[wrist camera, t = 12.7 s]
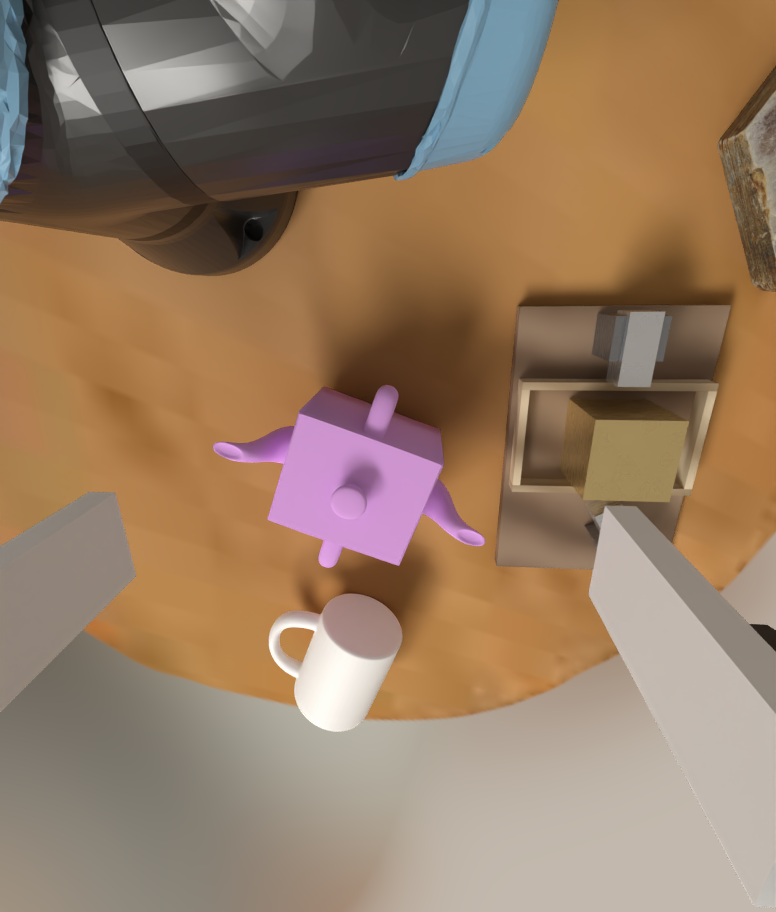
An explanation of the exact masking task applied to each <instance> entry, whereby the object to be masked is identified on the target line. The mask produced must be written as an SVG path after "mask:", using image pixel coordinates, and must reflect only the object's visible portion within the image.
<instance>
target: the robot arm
mask: <svg viewBox="0 0 776 912" xmlns="http://www.w3.org/2000/svg"><path fill="white" fill-rule="evenodd" d="M558 1H559V0H0V221H7V222H13V223H20V224H27V225H33V226H40V227H46V228H53V229H60V230H66V231H73V232H79V233H86V234H93V235H99V236H106V237H113V238H118V239H119V240H121V241H122V242H123V243H125V244H126V245H128V246H129V247H130V248H132V249H133V250H134V251H135V252H137V253H138V254H140V255H141V256H143V257H144V258H146V259H147V260H149V261H151V262H153V263H155V264H157V265H159V266H161V267H164V268H166V269H169V270H172V271H175V272H179V273H184V274H190V275H203V276H218V275H226V274H230V273H234V272H237V271H240V270H242V269H245V268H247V267H249V266H251V265H252V264H254V263H255V262H257V261H258V260H260V259H261V258H262V257H263V256H264V255H265V254H267V253H268V252H269V251H270V249H271V248H272V247H273V246H274V245H275V244H276V242H277V241H278V240H279V238H280V237H281V235H282V233H283V232H284V230H285V228H286V226H287V224H288V221H289V219H290V216H291V214H292V211H293V207H294V203H295V199H296V194H297V190H304V189H310V188H317V187H323V186H330V185H336V184H342V183H349V182H355V181H362V180H368V179H375V178H381V177H388V176H394V178H395V180H406V179H409V178H411V177H412V176H414V175H415V174H416V173H417V172H418V171H423V170H428V169H433V168H437V167H442V166H447V165H452V164H457V163H462V162H466V161H470V160H474V159H476V158H479V157H481V156H483V155H485V154H486V153H488V152H489V151H491V150H492V149H493V148H494V147H495V146H496V144H497V143H498V142H499V141H500V140H501V139H502V138H503V137H504V135H505V134H506V133H507V132H508V131H509V130H510V129H511V127H512V126H513V124H514V122H515V121H516V120H517V118H518V116H519V114H520V112H521V110H522V108H523V106H524V104H525V102H526V100H527V98H528V95H529V93H530V90H531V88H532V85H533V83H534V80H535V77H536V75H537V72H538V69H539V66H540V63H541V60H542V57H543V54H544V51H545V48H546V44H547V41H548V38H549V34H550V31H551V27H552V24H553V20H554V16H555V12H556V8H557V4H558ZM135 577H136V573H135V569H134V565H133V561H132V557H131V553H130V549H129V545H128V541H127V537H126V533H125V529H124V525H123V521H122V517H121V513H120V509H119V505H118V501H117V497H116V493H111V492H88V493H87V494H85V495H83V496H82V497H80V498H78V499H77V500H75V501H74V502H72V503H70V504H69V505H67V506H65V507H64V508H62V509H60V510H59V511H57V512H56V513H54V514H52V515H51V516H49V517H47V518H46V519H44V520H42V521H41V522H39V523H38V524H36V525H34V526H33V527H31V528H29V529H28V530H26V531H24V532H23V533H21V534H20V535H18V536H16V537H15V538H13V539H11V540H10V541H8V542H6V543H5V544H3V545H2V546H0V712H1V711H2V710H3V709H4V708H5V707H6V706H7V705H8V704H9V703H10V702H11V701H12V700H13V699H14V698H15V697H16V696H17V695H18V694H19V693H20V692H21V691H22V690H23V689H24V688H25V687H26V686H27V685H28V684H29V683H30V682H31V681H32V680H33V679H34V678H35V677H36V676H37V675H38V674H39V673H40V672H41V671H42V670H43V669H44V668H45V667H46V666H47V665H48V664H49V663H50V662H51V661H52V660H53V659H54V658H55V657H56V656H57V655H58V654H59V653H60V652H61V651H62V650H63V649H64V648H65V647H66V646H67V645H68V644H69V643H70V642H71V641H72V640H73V639H74V638H75V637H76V636H77V635H78V634H79V633H80V632H81V631H82V630H83V629H84V628H85V627H86V626H87V625H88V624H89V623H90V622H91V621H92V620H93V619H94V618H95V617H96V616H97V615H98V614H99V613H100V612H101V611H102V610H103V609H104V608H105V607H106V606H107V605H108V604H109V603H110V602H111V601H112V600H113V599H114V598H115V597H116V596H117V595H118V594H119V593H120V592H121V591H122V590H123V589H124V588H125V587H126V586H127V585H128V584H129V583H130V582H131V581H132V580H133V579H134V578H135ZM589 596H590V598H591V600H592V602H593V604H594V606H595V608H596V610H597V611H598V613H599V615H600V617H601V619H602V621H603V623H604V625H605V627H606V628H607V630H608V632H609V634H610V636H611V638H612V640H613V642H614V644H615V645H616V647H617V649H618V651H619V653H620V655H621V657H622V659H623V661H624V662H625V664H626V666H627V668H628V670H629V672H630V674H631V675H632V678H633V679H634V681H635V683H636V685H637V687H638V689H639V691H640V692H641V694H642V696H643V698H644V700H645V702H646V704H647V706H648V708H649V709H650V711H651V713H652V715H653V717H654V719H655V721H656V723H657V725H658V726H659V728H660V730H661V732H662V734H663V736H664V738H665V740H666V742H667V744H668V745H669V747H670V749H671V751H672V753H673V754H674V756H675V759H676V761H677V762H678V764H679V766H680V768H681V770H682V772H683V774H684V776H685V777H686V779H687V781H688V783H689V785H690V787H691V789H692V791H693V792H694V794H695V796H696V798H697V800H698V802H699V804H700V806H701V808H702V810H703V812H704V813H705V815H706V817H707V819H708V821H709V823H710V825H711V827H712V828H713V830H714V832H715V834H716V836H717V838H718V840H719V842H720V844H721V846H722V847H723V849H724V851H725V853H726V855H727V857H728V859H729V861H730V862H731V864H732V866H733V868H734V870H735V871H736V874H737V876H738V878H739V879H740V881H741V883H742V885H743V887H744V889H745V891H746V893H747V895H748V897H749V898H750V900H751V902H752V904H753V906H759V907H770V908H776V630H774V629H773V628H771V627H770V626H768V625H758V624H749V623H748V622H747V621H746V620H745V619H744V618H743V617H742V616H741V615H740V614H739V613H738V612H737V611H736V610H735V609H734V608H733V607H732V606H731V605H730V604H729V603H728V602H727V600H726V599H724V597H723V596H722V595H721V594H720V593H719V592H718V591H717V590H716V589H715V588H714V587H713V586H712V585H711V584H710V583H709V582H708V581H707V580H706V579H705V578H704V577H703V575H702V574H701V573H700V572H699V571H698V570H697V569H696V568H695V567H694V566H693V565H692V564H691V563H690V562H689V561H688V560H687V559H686V558H685V557H684V556H683V555H682V554H681V553H680V551H679V550H678V549H677V548H676V547H675V546H674V545H673V544H672V543H671V542H670V541H669V540H668V539H667V538H666V537H665V536H664V535H663V534H662V533H661V532H660V531H659V530H658V529H657V527H656V526H655V525H654V524H653V523H652V522H651V521H650V520H649V519H648V518H647V517H646V516H645V515H644V514H643V513H642V512H641V511H640V510H639V509H638V508H637V507H636V506H605V508H604V513H603V519H602V524H601V530H600V535H599V541H598V546H597V552H596V557H595V563H594V568H593V574H592V579H591V585H590V590H589Z"/></svg>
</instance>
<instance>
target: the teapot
mask: <svg viewBox="0 0 776 912" xmlns="http://www.w3.org/2000/svg"><path fill="white" fill-rule="evenodd" d="M397 401H398V392H397V390H396V389H395V388H394V387H393V386H390V385H384V386H382V387H380V388H379V390H378V391H377V393H376V396H375V398H374V401H373V404H371V403H368V402H365V401H362V400H360V399H357V398H354V397H352V396H349V395H346V394H343V393H341V392H338V391H335V390H332V389H330V388H327V387H323V388H322V389H321V390H320V391H319V392H318V393H317V394H316V395H315V396H314V397H313V398H312V399H311V400H310V401H309V402H308V403H307V404H306V405H305V406H304V407H303V408H302V409H301V410H300V411H299V413H298V417H297V420H296V424H295V426H289V427H283V428H280V429H277V430H275V431H273V432H271V433H269V434H267V435H266V436H264V437H262V438H260V439H258V440H255V441H252V442H249V443H231V442H217V443H215V444H214V445H213V449H214V451H215V452H216V453H218V454H219V455H221V456H222V457H225V458H227V459H230V460H233V461H239V462H278V463H283V464H284V465H283V468H282V472H281V475H280V479H279V482H278V485H277V489H276V492H275V496H274V499H273V503H272V506H271V509H270V513H269V516H268V520H270V521H272V522H275V523H277V524H280V525H283V526H286V527H288V528H291V529H294V530H297V531H300V532H302V533H305V534H308V535H311V536H314V537H316V538H319V539H322V540H324V542H323V544H322V547H321V550H320V553H319V557H318V560H319V563H320V564H321V565H322V566H324V567H327V568H330V567H333V566H334V565H335V564H336V563H337V561H338V559H339V556H340V554H341V551H342V548H343V547H345V548H348V549H351V550H354V551H356V552H359V553H362V554H365V555H368V556H371V557H374V558H377V559H380V560H383V561H386V562H389V563H392V564H395V565H400V563H401V560H402V558H403V556H404V554H405V551H406V549H407V547H408V545H409V542H410V540H411V538H412V535H413V533H414V531H415V529H416V526H417V524H418V522H419V520H420V517H421V515H422V513H423V514H425V515H426V516H428V517H430V518H431V519H433V520H434V521H435V522H436V523H438V524H439V525H440V526H441V527H442V528H443V529H444V530H445V531H446V532H448V533H449V534H450V535H451V536H453V537H454V538H456V539H457V540H459V541H461V542H463V543H466V544H469V545H473V546H481V545H484V543H485V539H484V537H483V536H482V535H481V534H480V533H478V532H477V531H476V530H474V529H473V528H471V527H470V526H468V525H467V524H466V523H465V522H464V521H463V520H462V519H461V518H460V516H459V515H458V513H457V511H456V509H455V507H454V504H453V502H452V499H451V496H450V494H449V492H448V490H447V488H446V487H445V485H444V484H443V483H442V482H441V481H440V480H439V479H438V477H439V474H440V472H441V470H442V468H443V465H444V458H443V449H442V440H441V430H440V429H438V428H435V427H433V426H430V425H427V424H425V423H422V422H419V421H417V420H414V419H411V418H408V417H406V416H403V415H400V414H398V413H395V412H394V410H395V407H396V404H397Z"/></svg>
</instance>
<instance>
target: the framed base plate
mask: <svg viewBox="0 0 776 912" xmlns="http://www.w3.org/2000/svg"><path fill="white" fill-rule="evenodd" d="M730 308H731V305H607V306H517V314H516V326H515V337H514V348H513V359H512V371H511V382H510V393H509V405H508V416H507V427H506V438H505V450H504V461H503V472H502V483H501V495H500V506H499V517H498V529H497V540H496V551H495V561H496V565H497V566H508V567H535V568H562V569H589V570H593V568H594V563H595V557H596V552H597V550H596V548H595V546H594V544H593V542H592V540H591V538H590V536H589V534H588V532H587V530H586V528H585V526H584V525H586V524H588V523H591V522H593V519H592V517H591V515H590V513H589V511H588V509H587V507H586V505H585V504H587V503H589V502H591V501H594V500H582V498H581V497H580V496H579V494H578V493H577V492H576V490H575V489H574V488H573V486H572V485H571V483H570V482H569V481H568V479H567V478H566V477H565V475H564V474H563V473H562V471H561V470H560V469H559V467H560V460H561V453H562V445H563V438H564V431H565V424H566V417H567V410H568V402H569V399H631V400H649V401H651V402H653V403H655V404H657V405H659V406H661V407H662V408H664V409H666V410H668V411H670V412H672V413H674V414H676V415H678V416H680V417H682V418H684V419H686V420H688V421H689V424H688V428H687V432H686V436H685V440H684V445H683V449H682V453H681V457H680V461H679V465H678V469H677V474H676V478H675V482H674V486H673V490H672V494H671V498H670V502H640V501H619V502H620V503H621V504H622V505H623V506H636V507H637V508H638V509H639V510H640V511H641V512H642V513H643V514H644V515H645V516H646V517H647V518H648V519H649V520H650V521H651V522H652V523H653V524H654V525H655V526H656V527H657V529H658V530H659V531H660V532H661V533H662V534H663V535H664V536H665V537H666V538H667V539H668V540H669V541H670V542H671V543H672V540H673V536H674V532H675V528H676V524H677V520H678V516H679V512H680V508H681V504H682V500H683V496H690V495H691V491H692V487H693V483H694V479H695V476H696V472H697V468H698V464H699V460H700V456H701V452H702V448H703V444H704V441H705V437H706V433H707V429H708V425H709V421H710V417H711V413H712V409H713V406H714V402H715V398H716V394H717V390H718V386H719V383H716V382H713V381H712V380H713V376H714V372H715V368H716V364H717V360H718V356H719V352H720V348H721V344H722V340H723V336H724V332H725V328H726V324H727V320H728V316H729V312H730ZM617 310H655V311H664V312H665V315H669V316H672V321H671V326H670V330H669V335H668V340H667V345H666V350H665V354H664V359H663V362H662V361H655V366H654V371H653V376H652V381H651V386H650V387H617V386H615V385H613V384H611V383H609V382H607V381H606V375H607V369H608V363H609V361H607V360H604V359H602V358H600V357H597V356H595V355H592V348H593V341H594V334H595V328H596V321H597V314H598V313H617Z"/></svg>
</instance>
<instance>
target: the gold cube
mask: <svg viewBox="0 0 776 912" xmlns="http://www.w3.org/2000/svg"><path fill="white" fill-rule="evenodd" d="M688 424H689V421H688V420H686V419H684V418H682V417H680V416H678V415H676V414H674V413H672V412H670V411H668V410H666V409H664V408H662V407H661V406H659V405H657V404H655V403H653V402H651V401H649V400H631V399H569V402H568V410H567V417H566V424H565V431H564V438H563V445H562V453H561V460H560V467H559V469H560V470H561V471H562V473H563V474H564V475H565V477H566V478H567V479H568V481H569V482H570V483H571V485H572V486H573V488H574V489H575V490H576V492H577V493H578V494H579V496H580V497H581V498H582V500H603V501H640V502H670V498H671V494H672V490H673V486H674V482H675V478H676V474H677V469H678V465H679V461H680V457H681V453H682V449H683V445H684V440H685V436H686V432H687V428H688Z"/></svg>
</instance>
